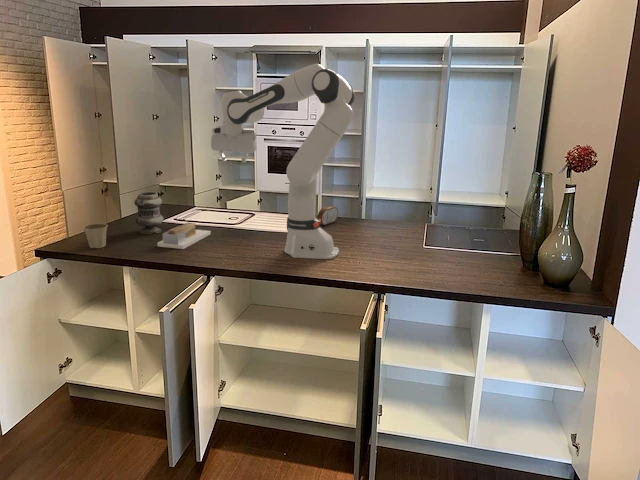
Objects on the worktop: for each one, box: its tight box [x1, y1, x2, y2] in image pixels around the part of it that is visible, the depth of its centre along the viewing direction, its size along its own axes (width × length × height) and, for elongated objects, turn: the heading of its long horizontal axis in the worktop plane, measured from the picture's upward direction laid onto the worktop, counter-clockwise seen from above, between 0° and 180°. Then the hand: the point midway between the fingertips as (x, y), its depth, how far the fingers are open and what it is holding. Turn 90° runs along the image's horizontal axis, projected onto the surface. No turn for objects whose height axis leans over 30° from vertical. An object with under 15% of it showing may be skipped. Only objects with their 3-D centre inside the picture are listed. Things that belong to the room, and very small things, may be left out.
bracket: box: [156, 229, 212, 250], centre depth 211 cm, size 12×24×6 cm, turn 165°
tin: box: [316, 205, 339, 226], centre depth 243 cm, size 15×3×8 cm, turn 144°
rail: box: [167, 222, 197, 238], centre depth 209 cm, size 4×14×5 cm, turn 159°
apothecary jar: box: [134, 191, 164, 235], centre depth 221 cm, size 12×12×18 cm
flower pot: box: [82, 223, 109, 249], centre depth 199 cm, size 9×9×9 cm
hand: (234, 161), depth 213 cm, fingers open, 8 cm apart
